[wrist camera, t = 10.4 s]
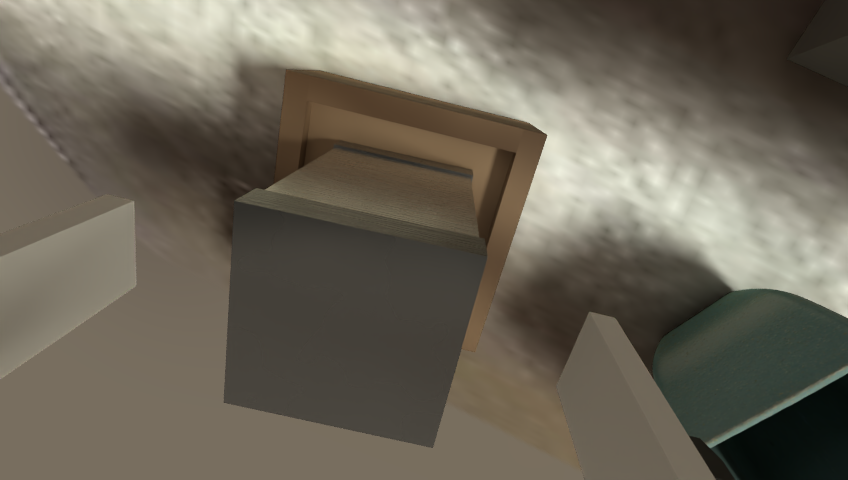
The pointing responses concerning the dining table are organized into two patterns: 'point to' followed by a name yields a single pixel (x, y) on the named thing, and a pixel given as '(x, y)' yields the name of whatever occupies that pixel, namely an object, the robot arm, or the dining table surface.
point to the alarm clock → (825, 42)
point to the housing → (354, 292)
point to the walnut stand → (418, 151)
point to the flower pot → (762, 384)
